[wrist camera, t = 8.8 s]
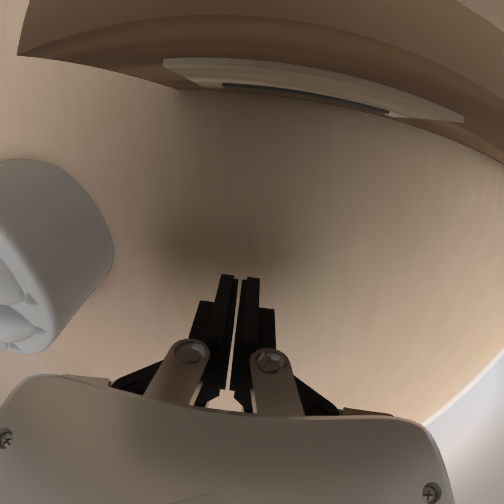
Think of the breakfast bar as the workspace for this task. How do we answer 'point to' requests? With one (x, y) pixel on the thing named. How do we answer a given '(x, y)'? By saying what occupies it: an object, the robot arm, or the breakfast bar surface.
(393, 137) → the breakfast bar surface
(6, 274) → the lumpy-topped squat cylinder
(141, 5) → the wooden panel
